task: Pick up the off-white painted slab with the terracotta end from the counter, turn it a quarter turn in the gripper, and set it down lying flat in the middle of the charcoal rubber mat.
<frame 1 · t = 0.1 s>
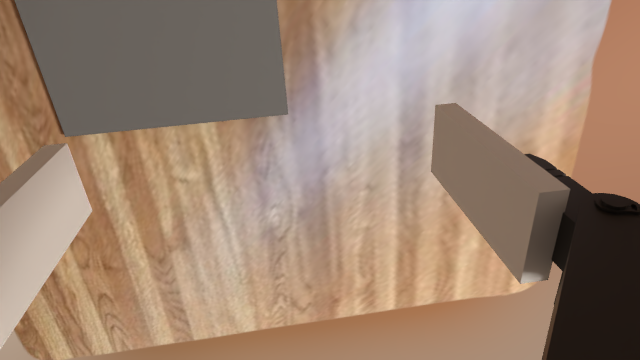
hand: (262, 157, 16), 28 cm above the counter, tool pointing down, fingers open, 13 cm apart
mat: (159, 36, 39), on the counter
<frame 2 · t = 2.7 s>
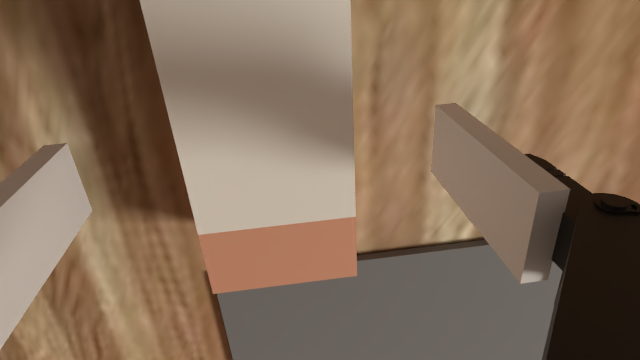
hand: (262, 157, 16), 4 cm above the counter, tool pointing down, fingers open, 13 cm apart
mat: (406, 350, 28), on the counter
slab: (267, 107, 19), on the counter
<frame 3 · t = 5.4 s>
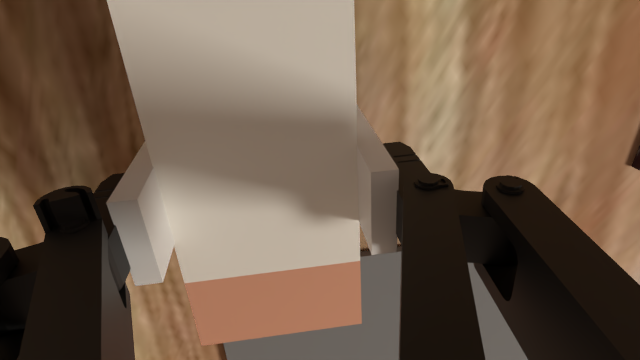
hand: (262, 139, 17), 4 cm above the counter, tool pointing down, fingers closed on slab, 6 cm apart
mat: (390, 346, 30), on the counter
slab: (262, 136, 17), point 4 cm above the counter, touching gripper
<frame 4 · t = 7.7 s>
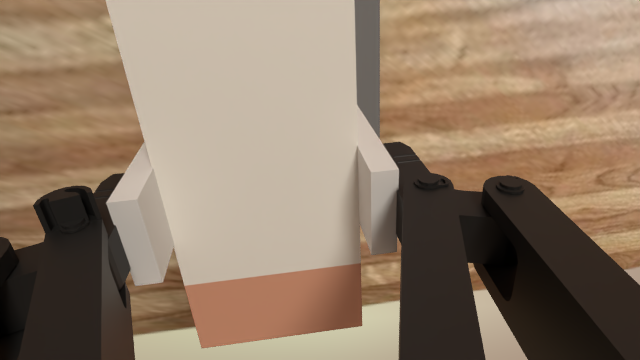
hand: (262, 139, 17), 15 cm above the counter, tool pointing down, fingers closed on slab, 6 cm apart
mat: (261, 58, 30), on the counter
slab: (262, 138, 17), point 15 cm above the counter, touching gripper
when the fingers open (1 cm above the counter, at t = 10.3 s): slab stays where it is, resting on mat.
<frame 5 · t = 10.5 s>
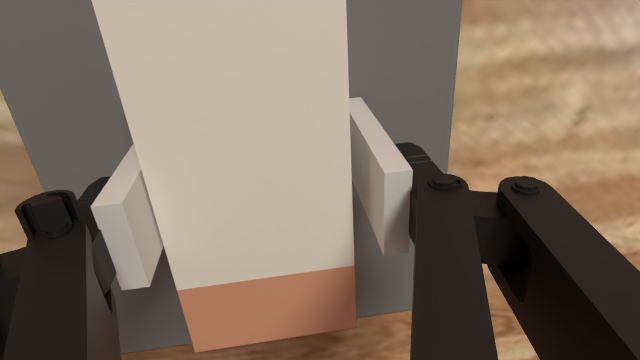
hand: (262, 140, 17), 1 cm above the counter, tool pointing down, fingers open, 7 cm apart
mat: (251, 132, 18), on the counter
slab: (254, 139, 17), resting on mat, touching gripper
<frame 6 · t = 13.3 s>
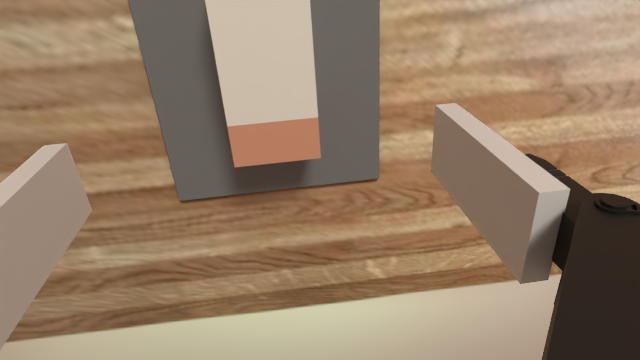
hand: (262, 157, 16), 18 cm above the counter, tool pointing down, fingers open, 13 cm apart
mat: (264, 56, 31), on the counter
slab: (267, 59, 31), resting on mat
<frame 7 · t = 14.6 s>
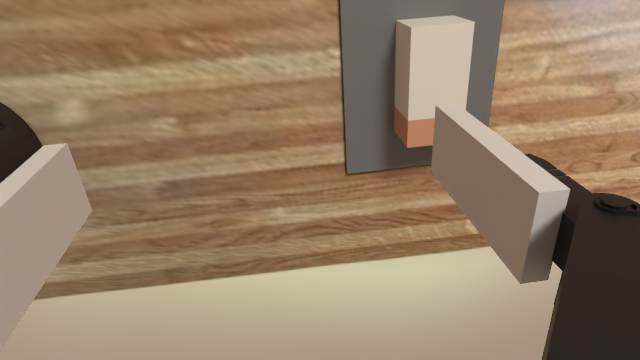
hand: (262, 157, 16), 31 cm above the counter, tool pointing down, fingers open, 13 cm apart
mat: (419, 74, 46), on the counter
slab: (421, 76, 46), resting on mat
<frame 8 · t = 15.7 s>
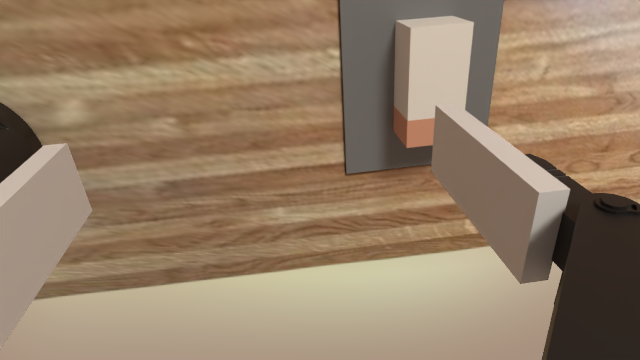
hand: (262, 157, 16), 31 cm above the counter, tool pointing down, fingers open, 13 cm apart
mat: (418, 74, 47), on the counter
slab: (421, 76, 46), resting on mat
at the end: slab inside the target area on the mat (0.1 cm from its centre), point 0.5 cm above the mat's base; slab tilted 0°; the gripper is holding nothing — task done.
